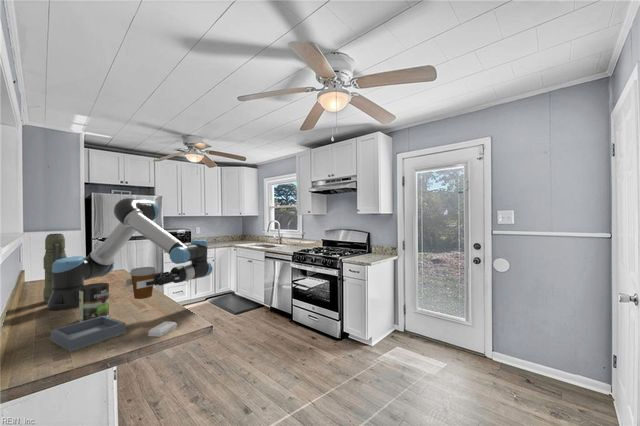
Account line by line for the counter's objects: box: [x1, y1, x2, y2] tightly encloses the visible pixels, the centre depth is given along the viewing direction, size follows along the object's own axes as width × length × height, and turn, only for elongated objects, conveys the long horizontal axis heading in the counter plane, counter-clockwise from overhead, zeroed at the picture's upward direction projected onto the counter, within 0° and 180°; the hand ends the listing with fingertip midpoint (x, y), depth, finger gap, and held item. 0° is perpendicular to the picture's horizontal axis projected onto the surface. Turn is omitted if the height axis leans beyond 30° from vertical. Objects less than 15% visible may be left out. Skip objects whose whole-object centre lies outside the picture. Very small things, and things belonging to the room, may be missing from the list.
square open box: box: [50, 316, 127, 352], centre depth 103 cm, size 16×16×4 cm
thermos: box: [42, 233, 68, 304], centre depth 147 cm, size 9×12×35 cm
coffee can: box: [78, 282, 110, 322], centre depth 122 cm, size 10×10×14 cm
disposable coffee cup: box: [129, 266, 157, 300], centre depth 119 cm, size 10×10×12 cm
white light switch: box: [147, 321, 178, 338], centre depth 107 cm, size 5×9×3 cm, turn 171°
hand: (131, 284), depth 115 cm, fingers closed on disposable coffee cup, 8 cm apart
